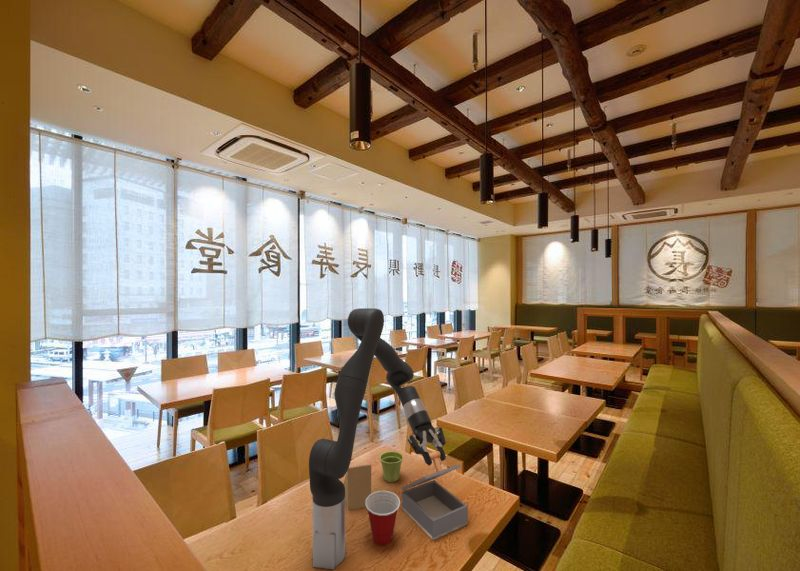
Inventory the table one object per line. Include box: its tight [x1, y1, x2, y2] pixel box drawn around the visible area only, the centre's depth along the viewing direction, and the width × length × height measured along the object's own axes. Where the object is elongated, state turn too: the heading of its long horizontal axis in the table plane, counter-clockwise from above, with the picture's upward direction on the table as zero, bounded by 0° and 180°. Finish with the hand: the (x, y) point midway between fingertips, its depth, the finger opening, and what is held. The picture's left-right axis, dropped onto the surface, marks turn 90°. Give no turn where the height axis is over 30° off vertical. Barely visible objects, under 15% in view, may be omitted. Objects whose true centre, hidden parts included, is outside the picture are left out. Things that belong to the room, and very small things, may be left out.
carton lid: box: [400, 450, 462, 491], centre depth 125 cm, size 18×14×7 cm
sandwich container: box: [342, 464, 372, 511], centre depth 133 cm, size 9×15×15 cm, turn 17°
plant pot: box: [379, 451, 404, 483], centre depth 145 cm, size 9×9×9 cm
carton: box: [401, 479, 469, 542], centre depth 122 cm, size 18×14×6 cm
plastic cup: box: [365, 490, 401, 546], centre depth 111 cm, size 11×11×12 cm
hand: (437, 462), depth 120 cm, fingers closed on carton lid, 5 cm apart
